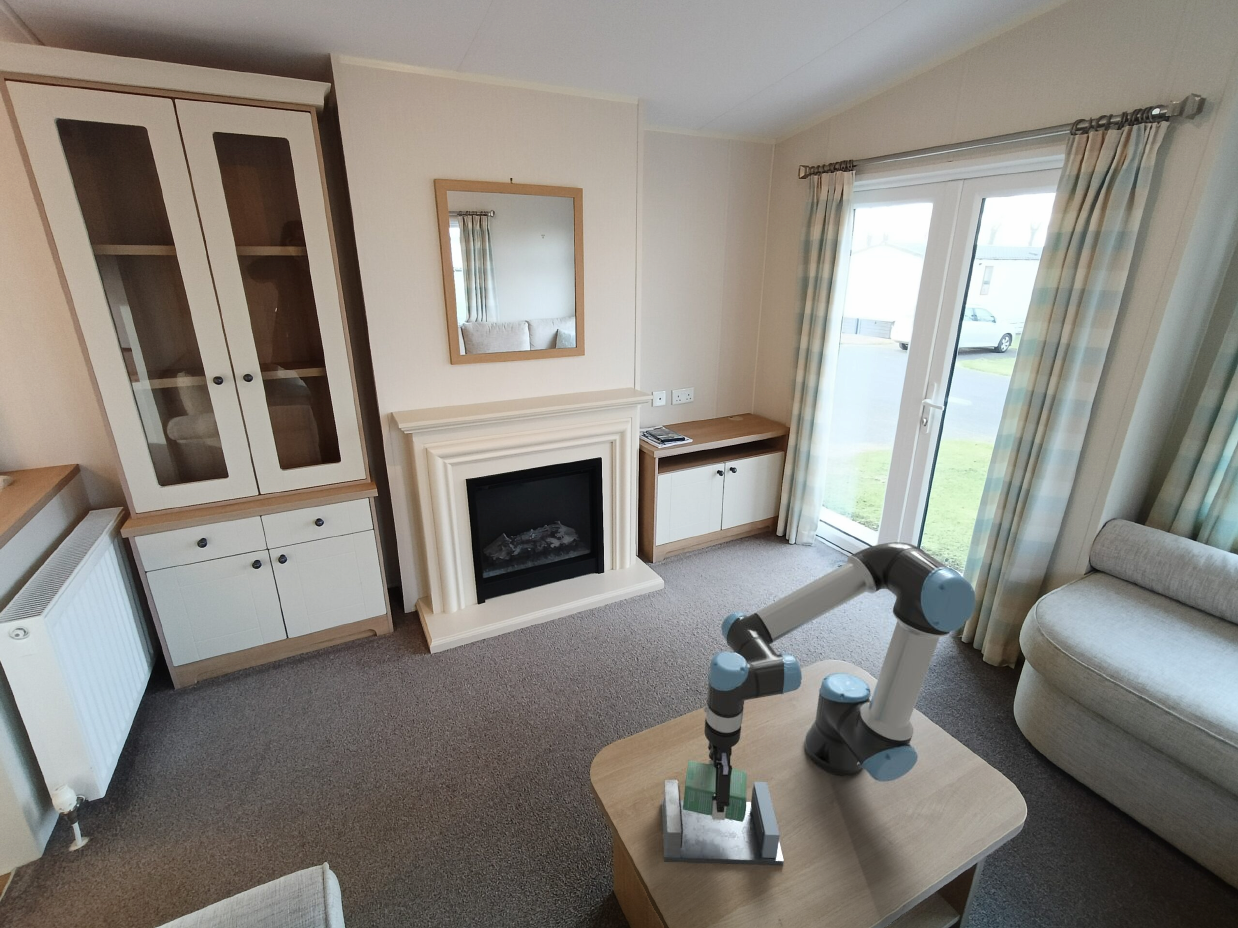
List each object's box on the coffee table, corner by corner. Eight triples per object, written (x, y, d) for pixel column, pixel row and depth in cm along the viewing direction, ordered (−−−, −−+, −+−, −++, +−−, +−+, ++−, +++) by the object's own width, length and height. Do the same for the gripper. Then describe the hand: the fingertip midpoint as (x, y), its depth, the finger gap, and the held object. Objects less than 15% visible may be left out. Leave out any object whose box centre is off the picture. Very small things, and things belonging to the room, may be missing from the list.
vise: (769, 807, 137) (772, 780, 134) (783, 865, 124) (787, 837, 121) (661, 803, 138) (662, 777, 135) (664, 861, 125) (665, 834, 122)
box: (744, 823, 123) (747, 797, 120) (682, 811, 125) (683, 785, 123) (744, 794, 130) (747, 769, 127) (685, 783, 132) (687, 758, 130)
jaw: (763, 803, 136) (766, 781, 134) (776, 857, 124) (779, 834, 121) (749, 803, 136) (752, 781, 134) (760, 857, 124) (763, 834, 121)
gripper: (700, 684, 129) (694, 760, 137) (711, 761, 110) (704, 844, 117) (733, 685, 129) (725, 761, 137) (750, 762, 109) (740, 845, 117)
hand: (715, 799), depth 127 cm, fingers closed on box, 8 cm apart
